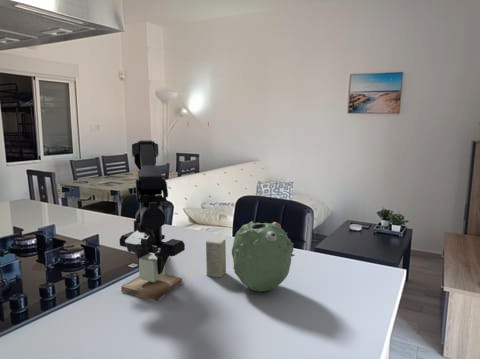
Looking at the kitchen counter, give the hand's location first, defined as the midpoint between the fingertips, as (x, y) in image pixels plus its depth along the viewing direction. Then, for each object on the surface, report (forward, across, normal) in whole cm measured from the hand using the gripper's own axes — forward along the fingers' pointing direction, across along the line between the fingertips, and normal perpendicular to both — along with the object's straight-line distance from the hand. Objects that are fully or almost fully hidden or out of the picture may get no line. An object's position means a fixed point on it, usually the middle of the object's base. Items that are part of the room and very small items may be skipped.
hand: (152, 272), depth 103 cm
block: (+2, 0, 0) cm, 2 cm away
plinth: (+4, 0, 0) cm, 5 cm away
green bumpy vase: (+5, +28, +13) cm, 31 cm away
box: (+5, +12, +16) cm, 21 cm away
